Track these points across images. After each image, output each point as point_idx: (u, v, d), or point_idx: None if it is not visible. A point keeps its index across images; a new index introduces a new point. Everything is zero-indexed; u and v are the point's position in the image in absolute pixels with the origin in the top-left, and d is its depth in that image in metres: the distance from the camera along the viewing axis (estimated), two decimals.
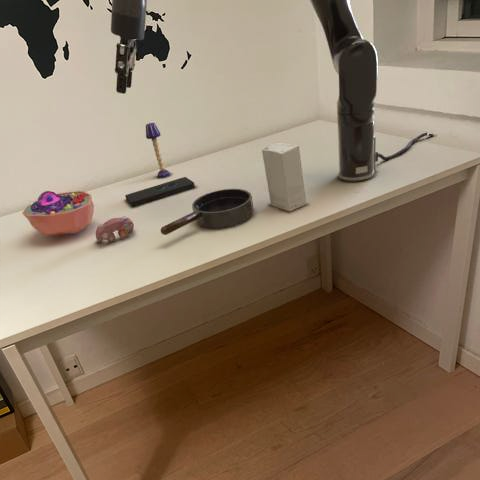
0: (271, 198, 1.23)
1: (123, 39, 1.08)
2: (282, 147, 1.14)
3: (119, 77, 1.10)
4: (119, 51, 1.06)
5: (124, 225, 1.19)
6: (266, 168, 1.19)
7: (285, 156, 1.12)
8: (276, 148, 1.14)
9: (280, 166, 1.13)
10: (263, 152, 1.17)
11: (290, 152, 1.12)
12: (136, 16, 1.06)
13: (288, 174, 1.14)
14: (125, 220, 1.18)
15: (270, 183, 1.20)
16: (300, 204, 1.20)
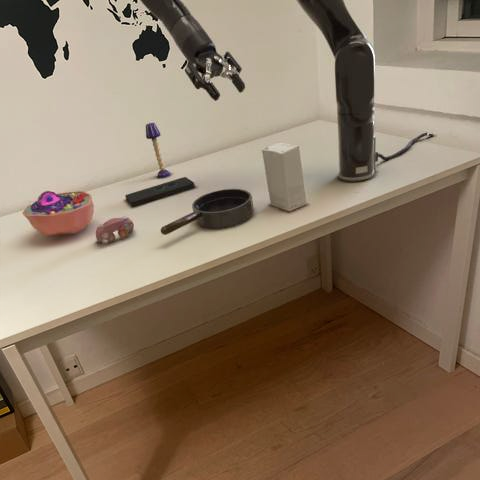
0: (271, 198, 1.23)
1: (192, 61, 1.16)
2: (282, 147, 1.14)
3: (206, 89, 1.15)
4: (188, 72, 1.15)
5: (124, 225, 1.19)
6: (266, 168, 1.19)
7: (285, 156, 1.12)
8: (276, 148, 1.14)
9: (280, 166, 1.13)
10: (263, 152, 1.17)
11: (290, 152, 1.12)
12: (186, 37, 1.15)
13: (288, 174, 1.14)
14: (125, 220, 1.18)
15: (270, 183, 1.20)
16: (300, 204, 1.20)
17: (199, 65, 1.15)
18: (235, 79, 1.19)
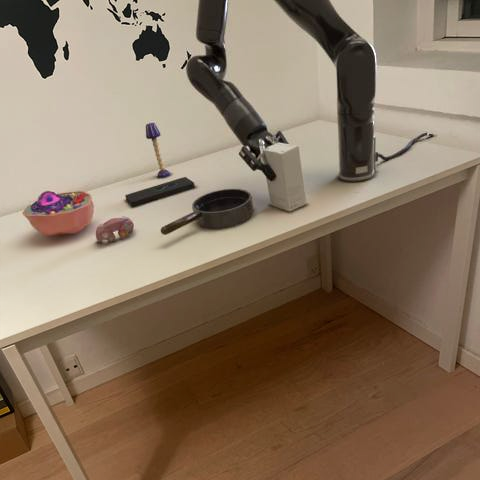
0: (271, 198, 1.23)
1: (245, 142, 1.17)
2: (282, 147, 1.14)
3: (262, 170, 1.17)
4: (242, 156, 1.16)
5: (124, 225, 1.19)
6: None
7: (285, 156, 1.12)
8: (276, 148, 1.14)
9: (280, 166, 1.13)
10: None
11: (289, 152, 1.12)
12: (239, 119, 1.16)
13: (288, 174, 1.14)
14: (125, 220, 1.18)
15: (270, 183, 1.20)
16: (300, 204, 1.20)
17: (252, 146, 1.16)
18: None
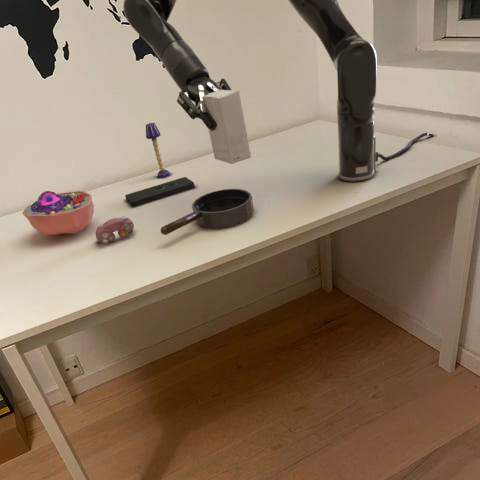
0: (214, 151, 1.15)
1: (184, 88, 1.10)
2: (221, 93, 1.06)
3: (202, 118, 1.09)
4: (181, 103, 1.08)
5: (124, 225, 1.19)
6: None
7: (224, 101, 1.04)
8: (215, 94, 1.06)
9: (219, 113, 1.05)
10: None
11: (228, 97, 1.04)
12: (177, 63, 1.08)
13: (228, 122, 1.06)
14: (125, 220, 1.18)
15: (212, 134, 1.12)
16: (244, 156, 1.12)
17: (191, 93, 1.08)
18: None
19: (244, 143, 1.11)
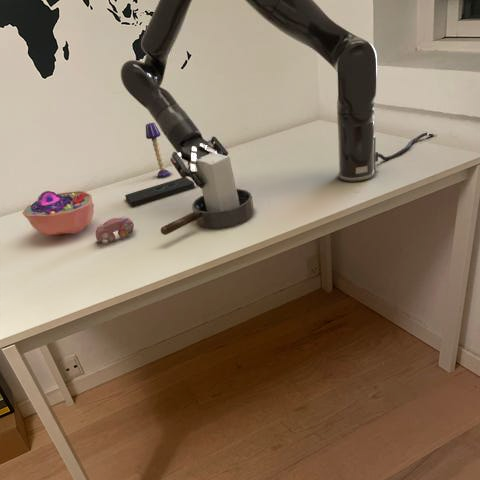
0: (207, 208, 1.23)
1: (178, 149, 1.17)
2: (213, 158, 1.14)
3: (191, 177, 1.16)
4: (173, 162, 1.16)
5: (124, 225, 1.19)
6: None
7: (215, 167, 1.12)
8: (207, 159, 1.14)
9: (211, 176, 1.13)
10: (196, 162, 1.17)
11: (219, 163, 1.12)
12: (171, 127, 1.16)
13: (219, 184, 1.14)
14: (125, 220, 1.18)
15: (205, 193, 1.20)
16: None
17: (184, 154, 1.16)
18: None
19: (235, 202, 1.18)
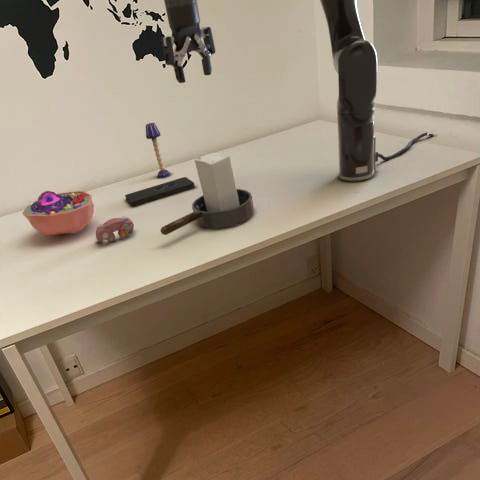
0: (207, 208, 1.23)
1: (172, 31, 1.14)
2: (213, 158, 1.14)
3: (174, 68, 1.18)
4: (163, 44, 1.14)
5: (124, 225, 1.19)
6: (200, 179, 1.19)
7: (215, 167, 1.12)
8: (207, 159, 1.14)
9: (211, 176, 1.13)
10: (196, 162, 1.17)
11: (219, 163, 1.12)
12: (176, 5, 1.10)
13: (219, 184, 1.14)
14: (125, 220, 1.18)
15: (205, 193, 1.20)
16: None
17: (177, 41, 1.14)
18: (205, 61, 1.22)
19: (235, 202, 1.18)
